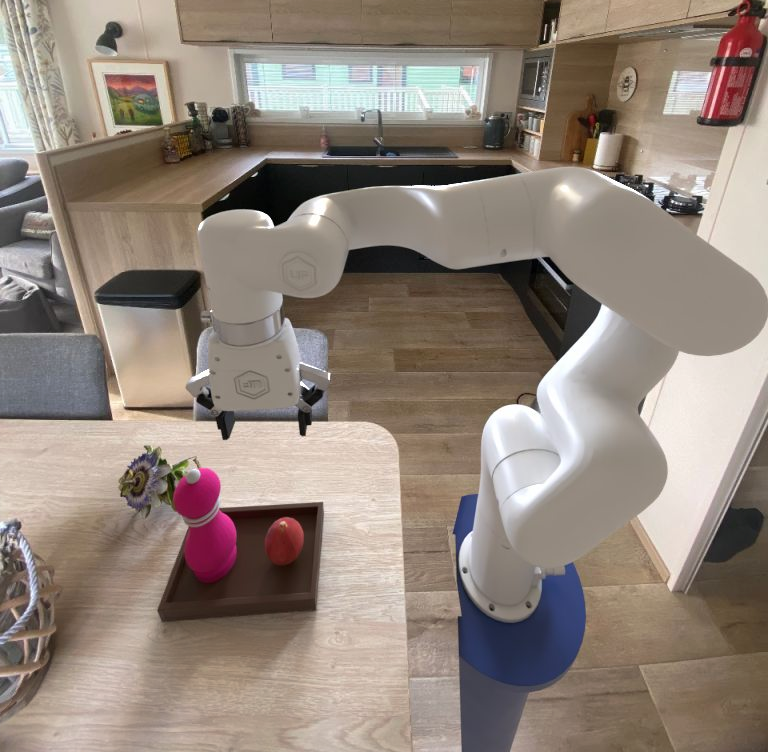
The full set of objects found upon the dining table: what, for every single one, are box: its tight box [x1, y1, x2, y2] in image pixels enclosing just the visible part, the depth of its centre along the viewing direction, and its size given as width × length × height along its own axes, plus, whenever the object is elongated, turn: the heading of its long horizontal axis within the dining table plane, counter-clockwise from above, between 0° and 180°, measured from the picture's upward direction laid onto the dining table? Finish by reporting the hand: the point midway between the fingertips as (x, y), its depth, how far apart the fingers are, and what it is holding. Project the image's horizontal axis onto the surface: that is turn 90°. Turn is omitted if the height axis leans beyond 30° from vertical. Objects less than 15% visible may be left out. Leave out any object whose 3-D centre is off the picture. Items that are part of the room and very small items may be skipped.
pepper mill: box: [173, 467, 237, 583], centre depth 57 cm, size 7×7×20 cm
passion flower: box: [117, 444, 202, 520], centre depth 70 cm, size 11×11×12 cm
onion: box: [265, 517, 304, 566], centre depth 60 cm, size 6×6×8 cm
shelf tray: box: [156, 501, 325, 623], centre depth 61 cm, size 22×14×3 cm, turn 94°
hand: (267, 428), depth 51 cm, fingers open, 9 cm apart
